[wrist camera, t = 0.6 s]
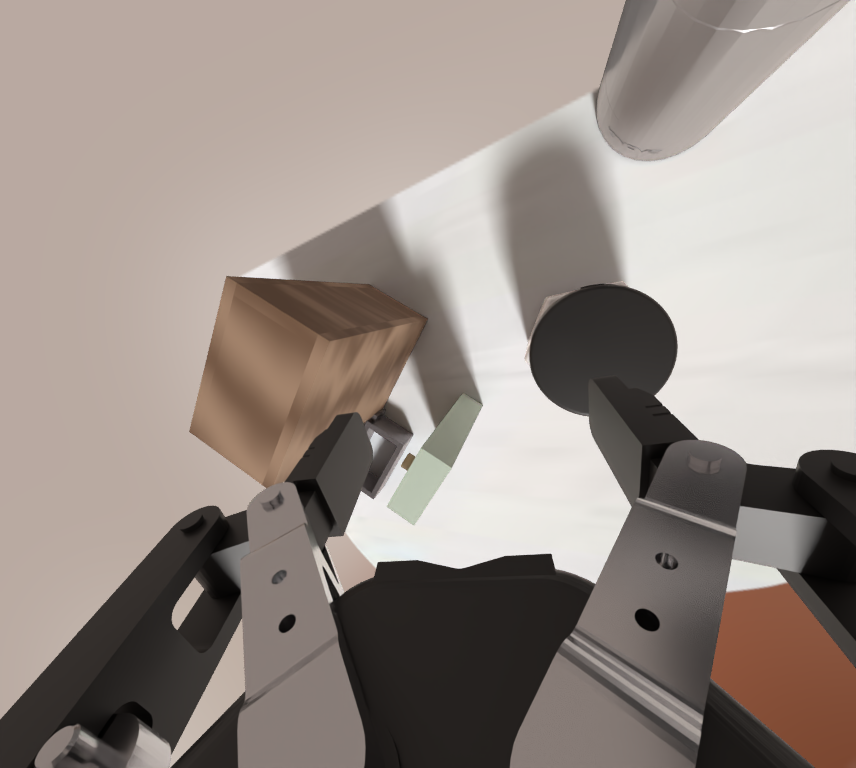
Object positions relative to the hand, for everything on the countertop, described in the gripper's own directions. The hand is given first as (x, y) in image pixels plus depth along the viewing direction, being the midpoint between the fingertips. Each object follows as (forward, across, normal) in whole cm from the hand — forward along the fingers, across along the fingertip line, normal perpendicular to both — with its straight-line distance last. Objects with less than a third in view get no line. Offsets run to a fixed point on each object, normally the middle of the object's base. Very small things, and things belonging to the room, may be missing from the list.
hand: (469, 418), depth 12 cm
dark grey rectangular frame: (+22, +14, +17) cm, 31 cm away
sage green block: (+21, +3, +14) cm, 25 cm away
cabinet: (+25, +12, +5) cm, 28 cm away
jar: (+21, -9, +6) cm, 24 cm away
